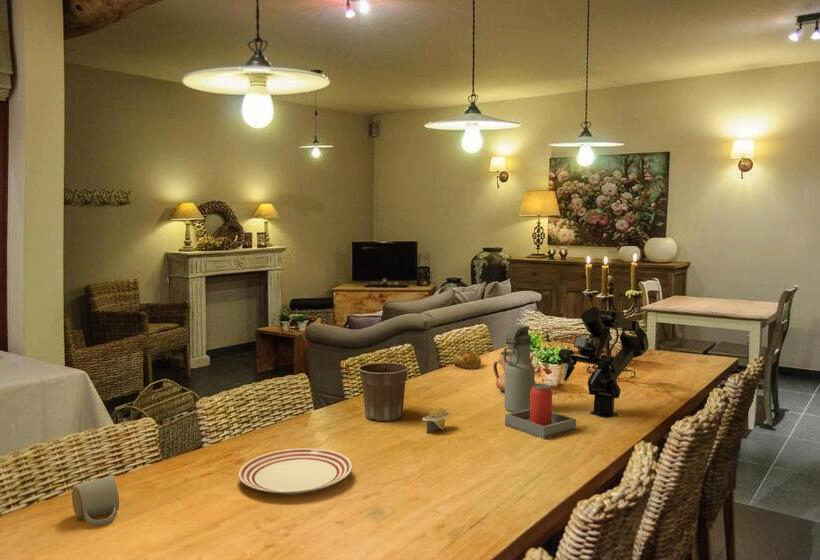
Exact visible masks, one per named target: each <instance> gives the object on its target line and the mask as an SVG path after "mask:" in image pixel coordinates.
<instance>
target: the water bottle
mask: <svg viewBox="0 0 820 560" xmlns="http://www.w3.org/2000/svg"><path fill="white" fill-rule="evenodd" d="M529 331H530V325H522V324H521V325H516V326H512V327H510V328H509V330H507V333H506V336H505V342H506V343H507V347H504V349H503V351H504V356H503V359H504V362H505V363H508V364H507V365H506V366H505V372H504V373H505V392H504V403H503V404H504V409H505V410H506V411H507V412H510V413H514V412H518V411H522V410H527V409H530V392H531V389H532V385H534V380H535V377H536V376H535V374H536V373H535V371H536V369H535V368H534V366H533V365H532V364H533V363H530V353H531V347H532V343H531V342H532V341H531V340H532V336H531V335H530V334H529ZM506 351H510V362H509V361H507V359H506Z"/></svg>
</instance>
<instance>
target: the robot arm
mask: <svg viewBox="0 0 820 560" xmlns="http://www.w3.org/2000/svg"><path fill="white" fill-rule="evenodd" d="M580 319H581V322H582V323H583V326H584V328H585V329H586V331H587V332H588V333H589V336H588V337H584V336H583V337H582V336H576V337H575V340H574V345H573V347H574V348H577V352H578V353H579V354H580V355H579V354H575V353H574V350H573V349H568V348H561V349H559V351H558V353H557V355H558V358H559V359H560V361H561V362H562V364H563V365H564V366H563V381H564V382H566V381H568V379H569V378H570V377H571V375H572V373H573V371H574V370H575V366H576V365H577V363H578V362H579V363H583V364H584V363H585V364H588V365H593V366H596V367H595V369H594V370H593V371H591V375H590V376H589V377H588V378H587V387H588V393H589V395H591V396H592V395H593V396H594V399H593V410H591V411H589V414H593V415H596V416H599V417H603V418H609V417H613V416H617V415H618V413H619V412H616V411H615V399H619V398H620V395H621V392H622V391H621V388H620V386H619V384H618V381H617V379H618V378H619V376H620V375H621V374H622V373H623V371H625V369H626V368H627V367H628V365H629V364H630V363H631V361H632V360H633V359H636V358H638V357H641V356H643V355H644V354H645V353H646V352H647V351H648V349H649V345H650V343H649V339H648V336H647V335H648V334H647V333H646V332H645V331H644V329H643V328H642V327H641V326H640V322H639V320H637V319H631V318H629V317H628V318H627V317H624V316H622V314H621V313H620V312H619V311H617V310H610V309H599V308H598V306H591V307H590V308H589V309H587V310H585V311H584V312H582V313H581V315H580ZM609 329H613V330H614V329H621V331H622V332H621V334H620V336H619V341H620V344H621V348H620V350H619V351H618V352H617V354H615V355H614V356H613V355H607V354H605V353H606V350H605V348H606V345H607V343H608V341H612V340H613V339H612V334H611V331H610V330H609ZM626 332H632V333H633V332H634V334H635V335H631V334H626Z"/></svg>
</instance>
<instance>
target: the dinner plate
mask: <svg viewBox="0 0 820 560" xmlns="http://www.w3.org/2000/svg"><path fill="white" fill-rule="evenodd" d="M351 461H352V460H350V458H348V457H347V456H346V455H344V454H343V453H339V452H336V451H332V450H328V449H323V448H307V447H306V448H305V447H304V448H302V447H301V448H289V449H282V450H276V451H271V452H268V453H265V454H262V455H258V456H256V457H255V458H252V459H251V460H248V461H247V462H246V463H245V464H243V465H242V466H241V467H240V469H239V471H238V479H239V480H240V482H241V483H242V484H243V485H245V486H247V487H249V488H251V489H253V490H257V491H261V492H266V493H272V494H281V495H283V494H284V495H285V494H286V495H297V494H298V495H299V494H304V493H311V492H315V491H319V490H323V489H326V488H329V487H331V486H334V485H335V484H338V483H339V482H341V481H343V480H344V479H345V478H347V477H348V476H349V475H350V473H351V472H352V469H353V464H352V462H351Z"/></svg>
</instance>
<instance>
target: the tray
mask: <svg viewBox="0 0 820 560" xmlns="http://www.w3.org/2000/svg"><path fill="white" fill-rule="evenodd" d="M504 418H505V419H504V426H505V427H508V428H511V429H514V430H516V429H517V431H519V430H520V432H522V431H523V432H522V433H525V432H526V433H525V434H528V433H529V435H531V434H532V436H533V435H534V437H536V436H537V437H536V438H539V437H541V438H540V439H542V438H543V440H546V439H545V438H547V439H550V438H554V437H556V436H560V434H561V435H563V433H565V434H568V433H572V432H575V430H576V431H577V418H573V417H572V416H571V417H570V416H568V415H564V414H561V413H557V412H554V411H552V423H551V424H550V425H546V426H543V425H540V424H537V423H533V422H530V409H527V410H522V411H518V412H510V413H505V415H504ZM571 431H572V432H571ZM567 432H568V433H567ZM553 436H554V437H553ZM549 437H550V438H549Z"/></svg>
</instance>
